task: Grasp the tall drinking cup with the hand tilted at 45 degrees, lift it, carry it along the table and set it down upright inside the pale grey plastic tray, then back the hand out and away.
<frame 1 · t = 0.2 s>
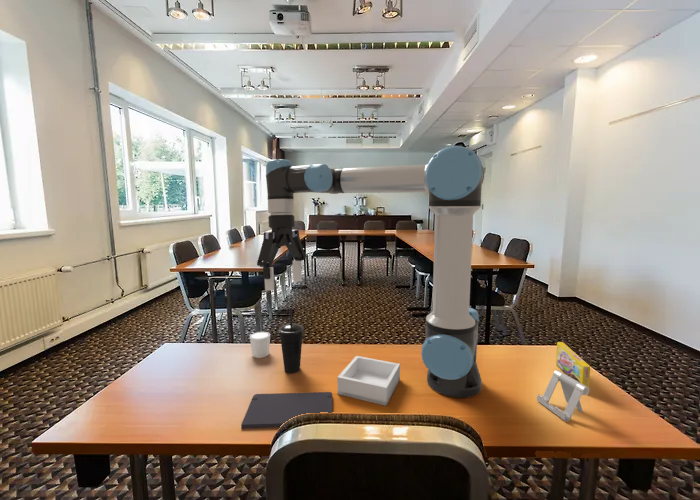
hand: (284, 285, 101), 28 cm above the table, tool pointing down, fingers open, 13 cm apart
drinking cup: (292, 370, 106), on the table
notebook: (290, 413, 85), on the table
portable electronic device stand: (562, 410, 86), on the table
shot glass: (260, 354, 117), on the table
candy box: (570, 379, 101), on the table
cup tray: (369, 386, 96), on the table
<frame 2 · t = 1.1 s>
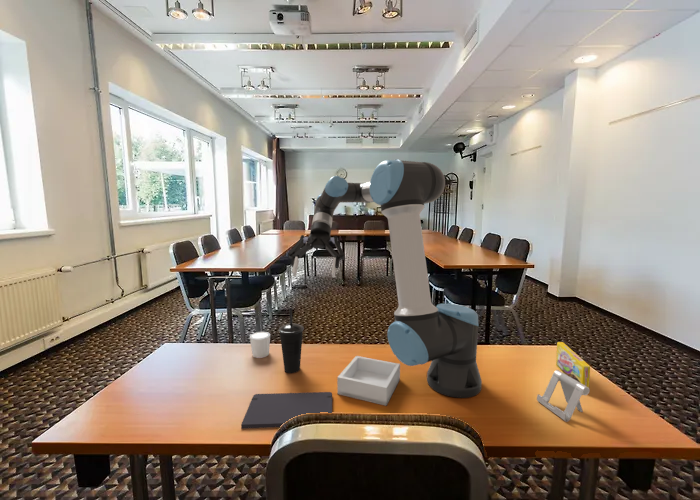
hand: (313, 275, 114), 28 cm above the table, tool tilted 45°, fingers open, 13 cm apart
nothing on the table moved.
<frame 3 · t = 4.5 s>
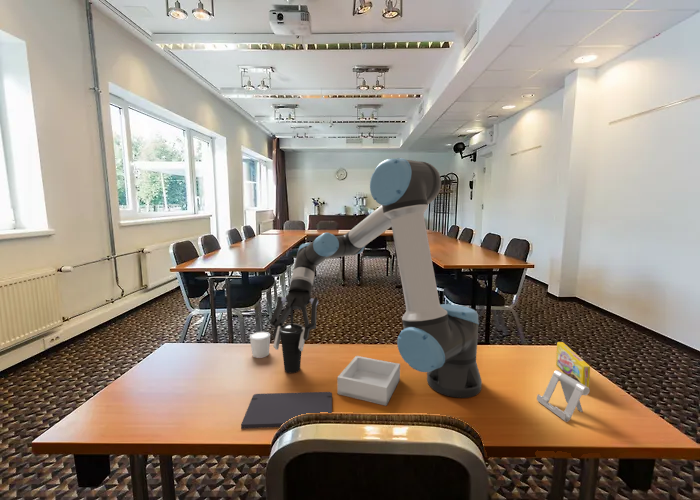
hand: (288, 348, 101), 9 cm above the table, tool tilted 45°, fingers closed on drinking cup, 7 cm apart
drinking cup: (292, 369, 106), on the table, touching gripper
everything else where it was.
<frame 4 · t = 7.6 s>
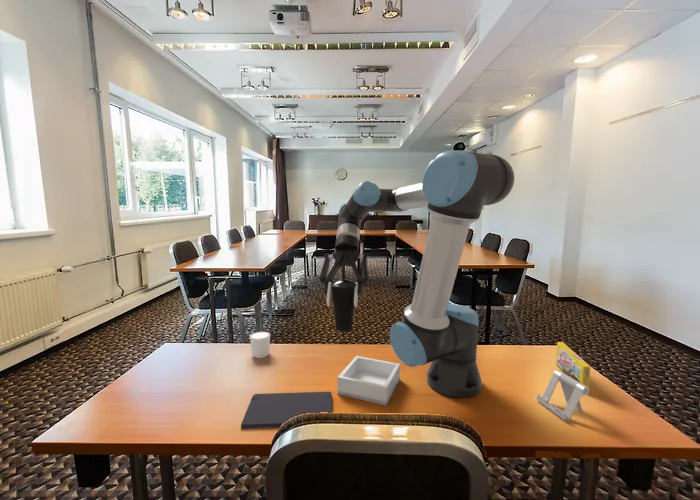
hand: (341, 304, 95), 24 cm above the table, tool tilted 45°, fingers closed on drinking cup, 7 cm apart
drinking cup: (344, 329, 99), point 15 cm above the table, touching gripper
everything else where it was.
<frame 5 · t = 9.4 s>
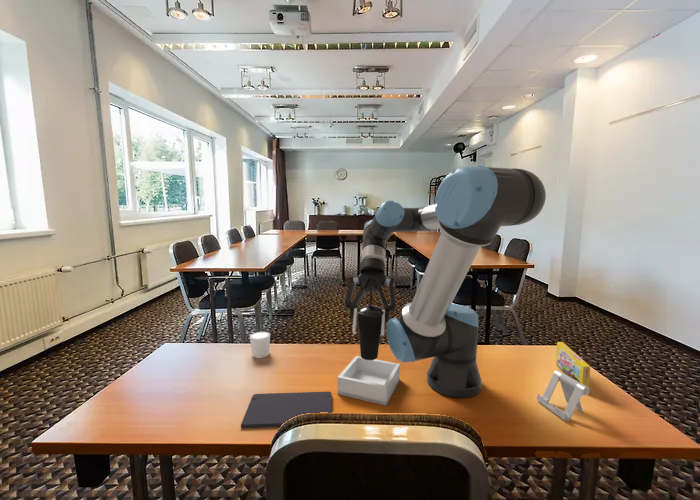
hand: (368, 332, 91), 17 cm above the table, tool tilted 45°, fingers closed on drinking cup, 7 cm apart
drinking cup: (369, 356, 96), point 9 cm above the table, touching gripper
everything else where it was.
when the fingers open (11 cm above the table, at t = 10.9 s): drinking cup drops 2 cm, resting on cup tray.
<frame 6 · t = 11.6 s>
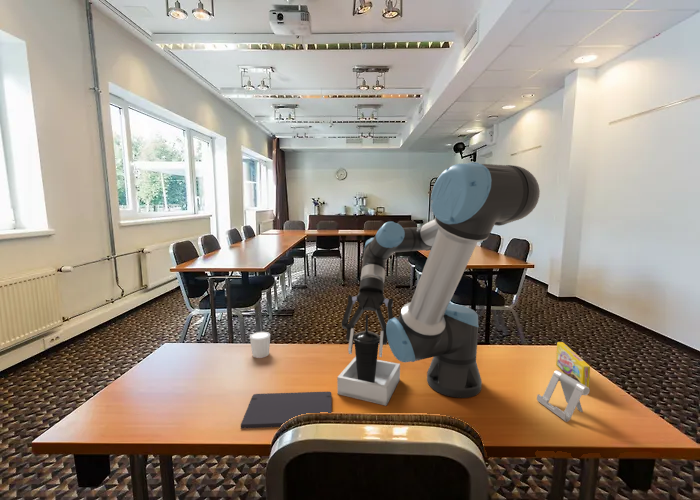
hand: (365, 353, 92), 11 cm above the table, tool tilted 45°, fingers open, 8 cm apart
drinking cup: (366, 382, 97), point 1 cm above the table, touching cup tray
everything else where it was.
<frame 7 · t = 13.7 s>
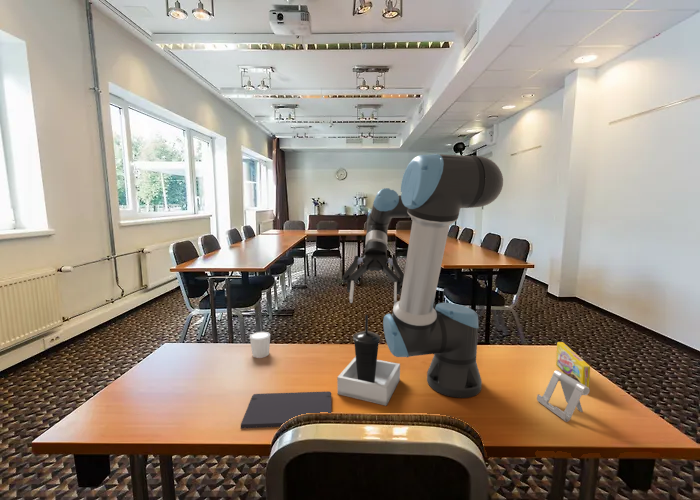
hand: (372, 301, 102), 22 cm above the table, tool tilted 45°, fingers open, 13 cm apart
nothing on the table moved.
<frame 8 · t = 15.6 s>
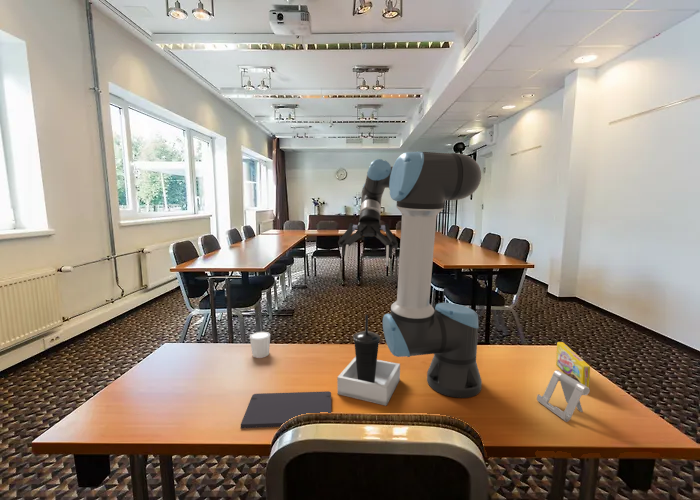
hand: (366, 263, 110), 33 cm above the table, tool tilted 45°, fingers open, 13 cm apart
nothing on the table moved.
at the end: drinking cup inside the target area on the cup tray (1.4 cm from its centre), point 0.8 cm above the cup tray's base; drinking cup tilted 0°; the gripper is holding nothing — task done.
